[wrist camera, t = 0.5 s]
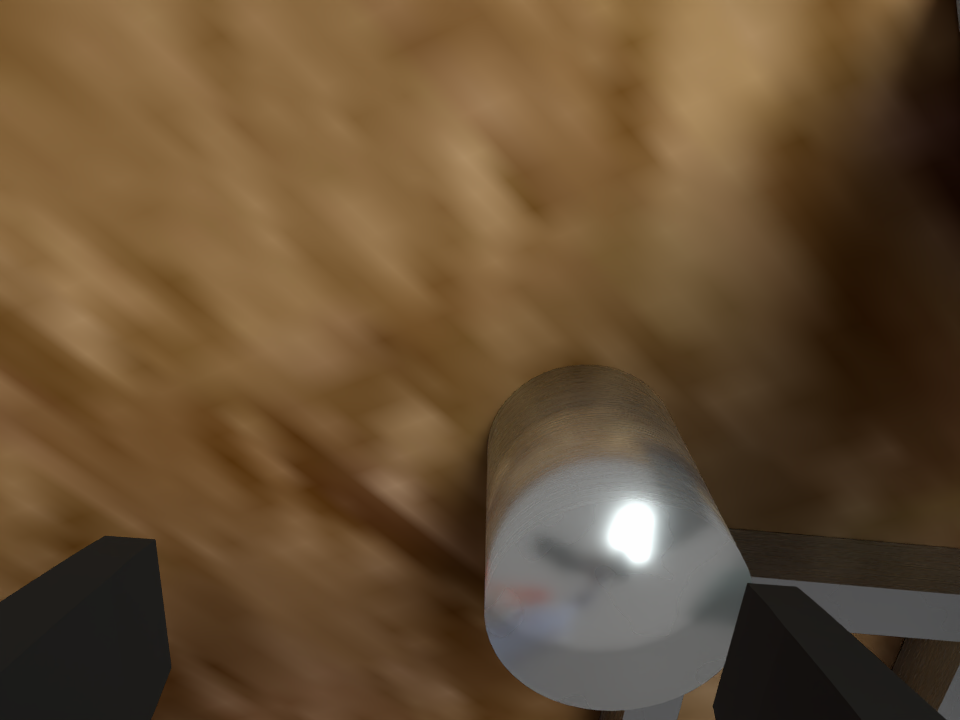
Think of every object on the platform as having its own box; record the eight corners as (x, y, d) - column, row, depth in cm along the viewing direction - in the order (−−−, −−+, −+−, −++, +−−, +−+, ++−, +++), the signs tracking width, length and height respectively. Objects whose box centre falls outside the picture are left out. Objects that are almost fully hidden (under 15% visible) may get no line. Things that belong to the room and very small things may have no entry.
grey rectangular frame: (884, 794, 23) (918, 856, 22) (588, 770, 23) (596, 831, 21) (997, 552, 19) (1049, 602, 18) (642, 521, 19) (657, 568, 17)
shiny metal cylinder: (656, 536, 20) (720, 720, 14) (479, 520, 19) (473, 700, 14) (693, 373, 18) (784, 513, 12) (497, 356, 18) (497, 488, 12)
